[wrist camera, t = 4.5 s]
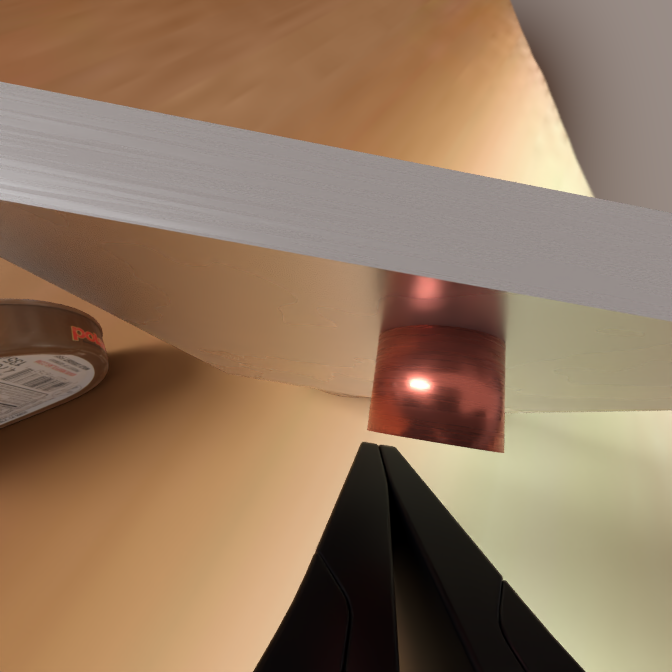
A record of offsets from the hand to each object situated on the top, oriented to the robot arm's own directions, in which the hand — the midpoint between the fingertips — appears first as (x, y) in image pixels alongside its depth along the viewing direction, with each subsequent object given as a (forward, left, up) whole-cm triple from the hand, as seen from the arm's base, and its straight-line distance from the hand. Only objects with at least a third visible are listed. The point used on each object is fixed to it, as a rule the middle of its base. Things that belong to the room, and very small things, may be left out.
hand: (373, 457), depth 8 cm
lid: (+3, -1, 0) cm, 3 cm away
